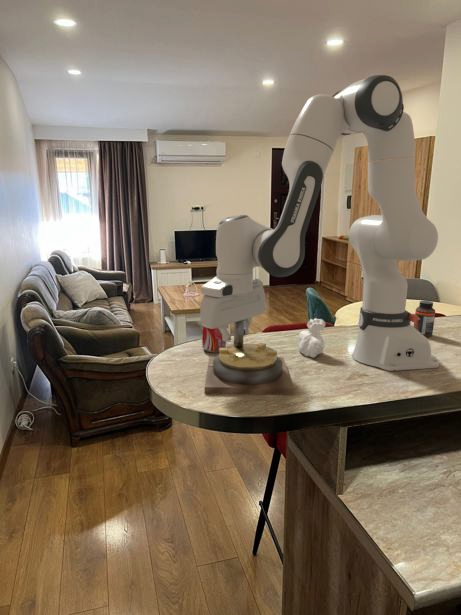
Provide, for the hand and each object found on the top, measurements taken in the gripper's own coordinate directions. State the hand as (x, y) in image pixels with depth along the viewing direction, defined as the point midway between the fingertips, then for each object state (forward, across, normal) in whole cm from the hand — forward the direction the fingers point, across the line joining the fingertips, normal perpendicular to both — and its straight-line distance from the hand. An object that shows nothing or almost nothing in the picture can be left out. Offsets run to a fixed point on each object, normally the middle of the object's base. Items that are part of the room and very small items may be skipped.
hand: (235, 337), depth 110 cm
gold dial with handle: (+5, +1, +5) cm, 7 cm away
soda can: (+9, -7, -16) cm, 19 cm away
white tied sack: (+10, -25, +6) cm, 28 cm away
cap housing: (+9, +1, +5) cm, 10 cm away
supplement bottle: (+11, -67, +22) cm, 71 cm away
